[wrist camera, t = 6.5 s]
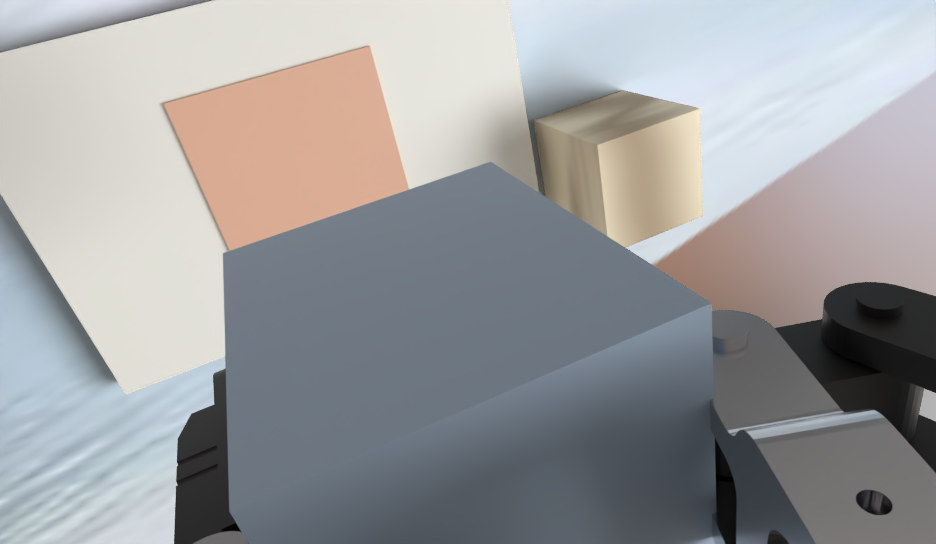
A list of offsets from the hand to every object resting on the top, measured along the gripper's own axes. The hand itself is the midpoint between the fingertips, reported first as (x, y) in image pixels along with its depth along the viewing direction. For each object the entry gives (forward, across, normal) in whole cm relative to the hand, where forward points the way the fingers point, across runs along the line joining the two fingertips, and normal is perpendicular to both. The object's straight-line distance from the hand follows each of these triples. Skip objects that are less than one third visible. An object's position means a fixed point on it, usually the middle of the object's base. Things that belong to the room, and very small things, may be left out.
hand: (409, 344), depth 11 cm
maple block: (+14, -12, +4) cm, 19 cm away
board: (+14, 0, 0) cm, 14 cm away
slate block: (+1, 0, 0) cm, 1 cm away
